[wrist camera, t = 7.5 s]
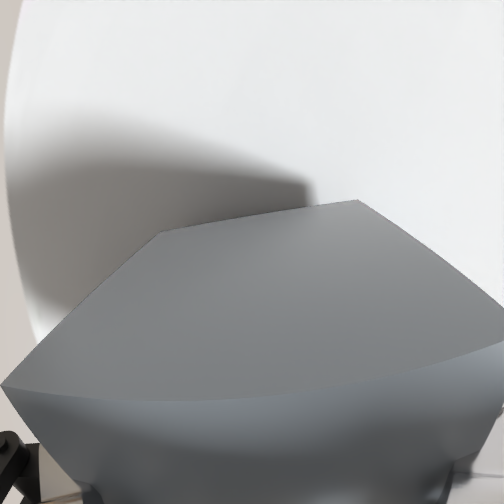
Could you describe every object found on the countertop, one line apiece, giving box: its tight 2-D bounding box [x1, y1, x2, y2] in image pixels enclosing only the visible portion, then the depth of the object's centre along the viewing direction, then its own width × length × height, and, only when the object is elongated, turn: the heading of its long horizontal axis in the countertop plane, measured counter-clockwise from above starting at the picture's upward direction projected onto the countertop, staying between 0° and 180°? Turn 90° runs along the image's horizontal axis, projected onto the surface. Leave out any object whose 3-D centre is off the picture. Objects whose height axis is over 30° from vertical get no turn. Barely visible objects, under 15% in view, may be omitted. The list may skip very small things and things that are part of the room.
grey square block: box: [0, 200, 504, 504], centre depth 8 cm, size 7×7×9 cm
